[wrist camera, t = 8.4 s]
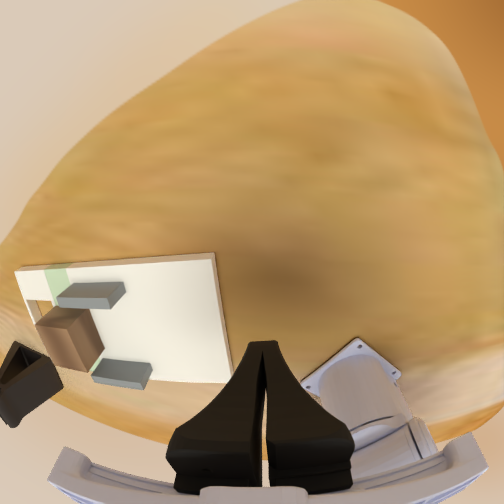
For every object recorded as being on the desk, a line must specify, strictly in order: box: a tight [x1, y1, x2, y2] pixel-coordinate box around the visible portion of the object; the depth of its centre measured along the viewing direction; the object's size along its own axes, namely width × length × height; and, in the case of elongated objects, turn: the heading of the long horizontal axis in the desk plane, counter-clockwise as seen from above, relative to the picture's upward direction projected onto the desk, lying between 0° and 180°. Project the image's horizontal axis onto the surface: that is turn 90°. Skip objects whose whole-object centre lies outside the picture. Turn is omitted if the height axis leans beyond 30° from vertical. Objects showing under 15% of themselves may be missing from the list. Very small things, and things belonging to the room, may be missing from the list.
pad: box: [44, 263, 101, 371], centre depth 24 cm, size 4×13×2 cm, turn 5°
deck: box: [14, 252, 234, 390], centre depth 22 cm, size 24×13×4 cm, turn 95°
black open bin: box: [0, 341, 63, 428], centre depth 23 cm, size 9×6×12 cm, turn 83°
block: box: [35, 306, 105, 373], centre depth 21 cm, size 5×5×4 cm
